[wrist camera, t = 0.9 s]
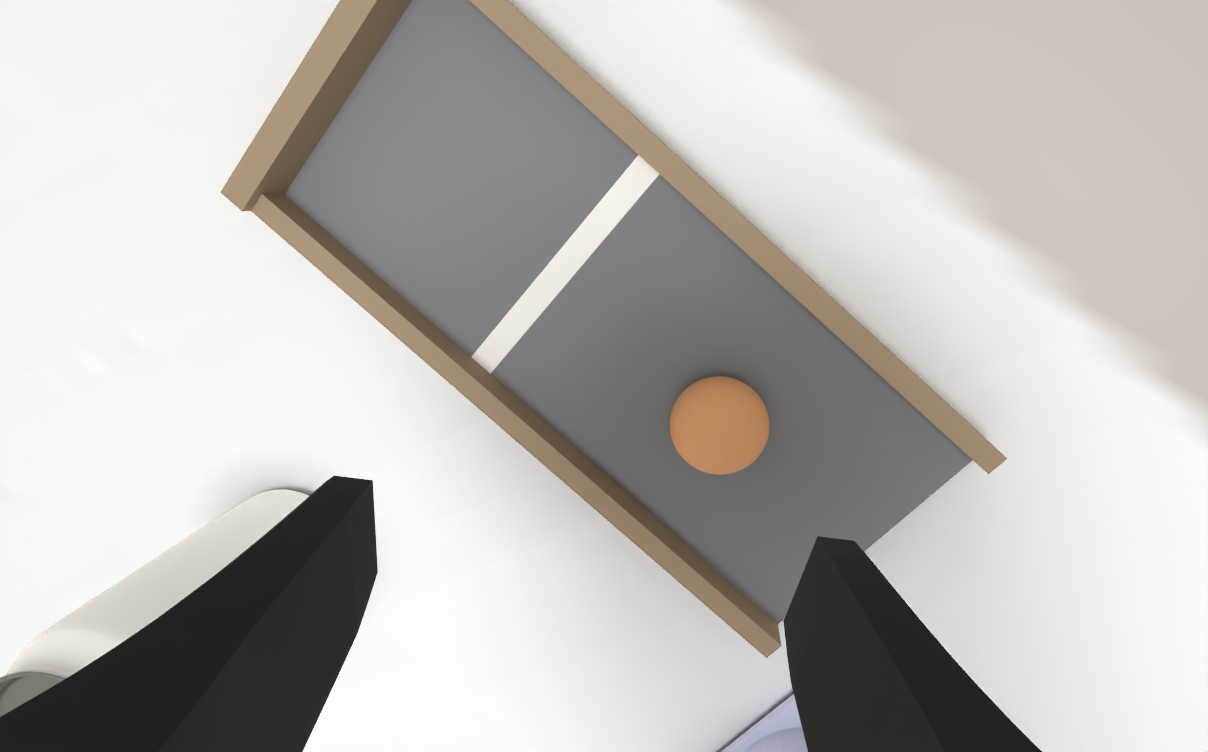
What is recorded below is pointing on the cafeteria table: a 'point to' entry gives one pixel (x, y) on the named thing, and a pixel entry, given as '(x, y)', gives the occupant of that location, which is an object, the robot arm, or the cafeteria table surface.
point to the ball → (719, 425)
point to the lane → (591, 294)
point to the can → (141, 597)
